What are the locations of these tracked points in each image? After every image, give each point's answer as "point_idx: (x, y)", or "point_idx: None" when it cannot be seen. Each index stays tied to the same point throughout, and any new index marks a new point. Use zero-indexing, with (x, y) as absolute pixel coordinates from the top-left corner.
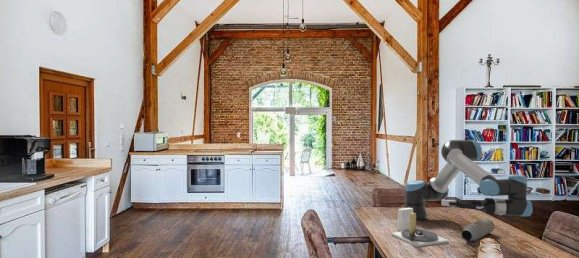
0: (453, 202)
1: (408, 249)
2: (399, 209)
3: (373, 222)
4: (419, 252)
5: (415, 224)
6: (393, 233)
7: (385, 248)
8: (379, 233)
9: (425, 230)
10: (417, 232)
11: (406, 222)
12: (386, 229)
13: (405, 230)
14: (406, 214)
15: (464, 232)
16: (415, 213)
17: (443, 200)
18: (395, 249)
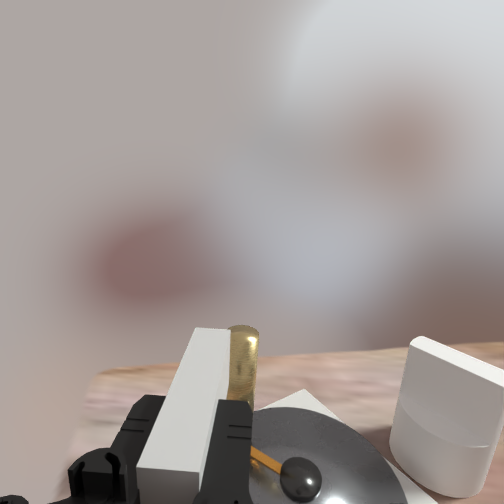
0: (134, 441)
1: (115, 431)
2: (415, 338)
3: None
4: (64, 468)
5: (228, 394)
6: (297, 393)
7: (135, 369)
8: (306, 367)
9: None
10: (294, 465)
11: (402, 414)
12: (375, 388)
13: (334, 425)
14: (437, 384)
15: None
16: (240, 340)
17: (192, 339)
18: (121, 392)
